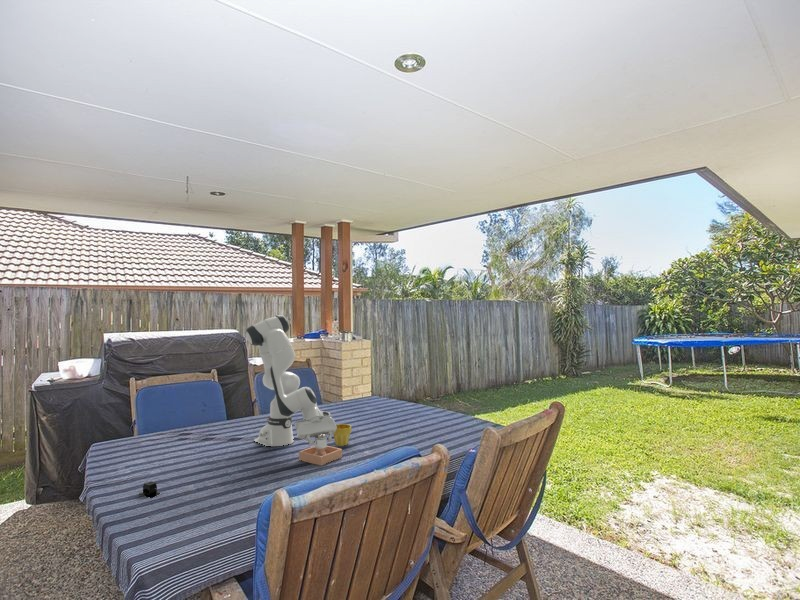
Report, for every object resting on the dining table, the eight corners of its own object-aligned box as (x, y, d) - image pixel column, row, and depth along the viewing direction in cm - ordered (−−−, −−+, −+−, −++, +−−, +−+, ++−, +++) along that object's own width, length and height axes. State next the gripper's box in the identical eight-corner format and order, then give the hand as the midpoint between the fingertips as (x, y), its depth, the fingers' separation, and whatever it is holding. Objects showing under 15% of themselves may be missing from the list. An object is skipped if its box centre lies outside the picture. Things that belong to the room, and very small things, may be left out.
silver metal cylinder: (312, 457, 213) (312, 434, 213) (320, 453, 218) (320, 431, 218) (320, 459, 210) (321, 436, 210) (329, 456, 215) (329, 433, 215)
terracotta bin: (298, 459, 212) (299, 451, 212) (320, 452, 224) (320, 444, 224) (321, 465, 204) (321, 456, 204) (342, 457, 216) (342, 449, 216)
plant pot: (333, 448, 231) (333, 429, 231) (330, 442, 241) (330, 424, 241) (352, 446, 234) (352, 427, 234) (349, 441, 243) (349, 423, 244)
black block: (168, 494, 172) (168, 482, 172) (151, 501, 165) (151, 489, 166) (147, 489, 177) (148, 477, 177) (130, 495, 171) (130, 483, 171)
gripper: (295, 417, 214) (303, 442, 206) (332, 412, 226) (341, 435, 218) (291, 424, 217) (299, 449, 209) (328, 419, 229) (337, 442, 221)
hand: (321, 442), depth 213 cm, fingers open, 8 cm apart
